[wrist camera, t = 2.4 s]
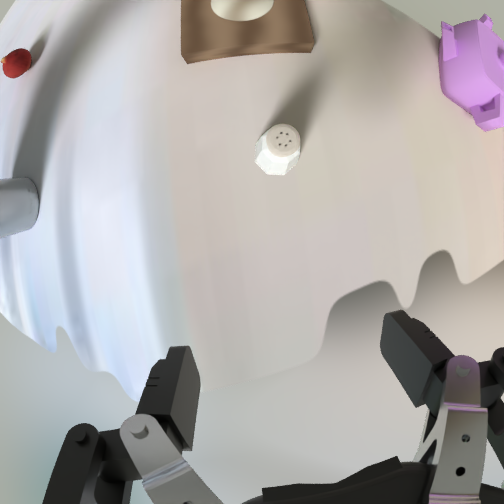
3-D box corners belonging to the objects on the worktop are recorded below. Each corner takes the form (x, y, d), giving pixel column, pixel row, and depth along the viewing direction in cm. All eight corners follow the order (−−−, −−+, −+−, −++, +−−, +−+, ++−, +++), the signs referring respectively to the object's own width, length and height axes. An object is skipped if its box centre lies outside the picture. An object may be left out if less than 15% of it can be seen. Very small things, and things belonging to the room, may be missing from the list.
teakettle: (463, 139, 29) (519, 133, 17) (406, 43, 26) (448, 8, 14) (506, 110, 26) (550, 103, 14) (460, 29, 23) (497, 7, 11)
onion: (25, 57, 26) (0, 48, 18) (42, 51, 26) (16, 39, 18) (16, 83, 28) (-11, 76, 20) (33, 78, 28) (4, 69, 20)
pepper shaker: (305, 167, 31) (326, 160, 21) (262, 182, 32) (263, 181, 21) (289, 126, 30) (302, 100, 20) (246, 141, 31) (239, 120, 20)
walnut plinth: (187, 63, 28) (180, 54, 25) (186, -12, 24) (181, -24, 21) (310, 52, 27) (314, 41, 24) (292, -23, 24) (294, -34, 20)
